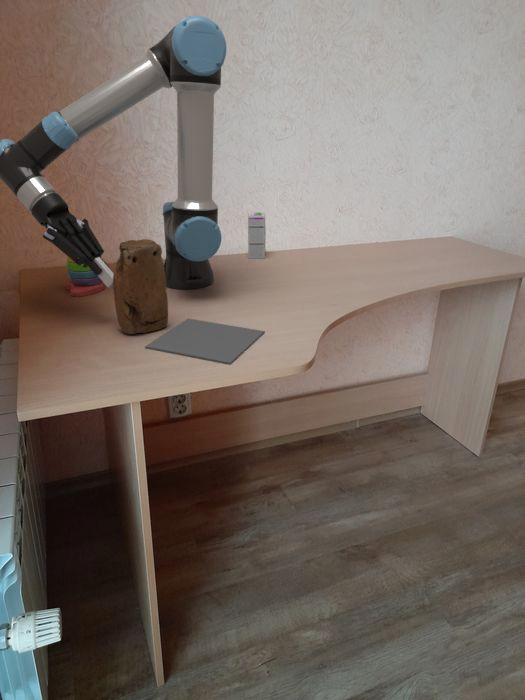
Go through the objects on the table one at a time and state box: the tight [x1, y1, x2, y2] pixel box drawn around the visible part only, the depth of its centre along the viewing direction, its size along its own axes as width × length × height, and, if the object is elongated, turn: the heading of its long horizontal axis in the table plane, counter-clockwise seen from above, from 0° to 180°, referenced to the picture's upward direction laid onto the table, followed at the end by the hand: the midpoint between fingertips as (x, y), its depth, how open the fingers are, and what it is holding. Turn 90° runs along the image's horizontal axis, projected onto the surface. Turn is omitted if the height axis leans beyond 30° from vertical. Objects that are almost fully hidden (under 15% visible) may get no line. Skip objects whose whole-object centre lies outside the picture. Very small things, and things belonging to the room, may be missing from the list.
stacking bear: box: [64, 255, 106, 297], centre depth 144 cm, size 11×10×18 cm
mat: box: [144, 318, 266, 365], centre depth 116 cm, size 18×20×1 cm
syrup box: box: [247, 212, 266, 260], centre depth 180 cm, size 6×6×14 cm
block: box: [112, 238, 169, 335], centre depth 118 cm, size 11×8×20 cm
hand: (113, 283), depth 120 cm, fingers closed
